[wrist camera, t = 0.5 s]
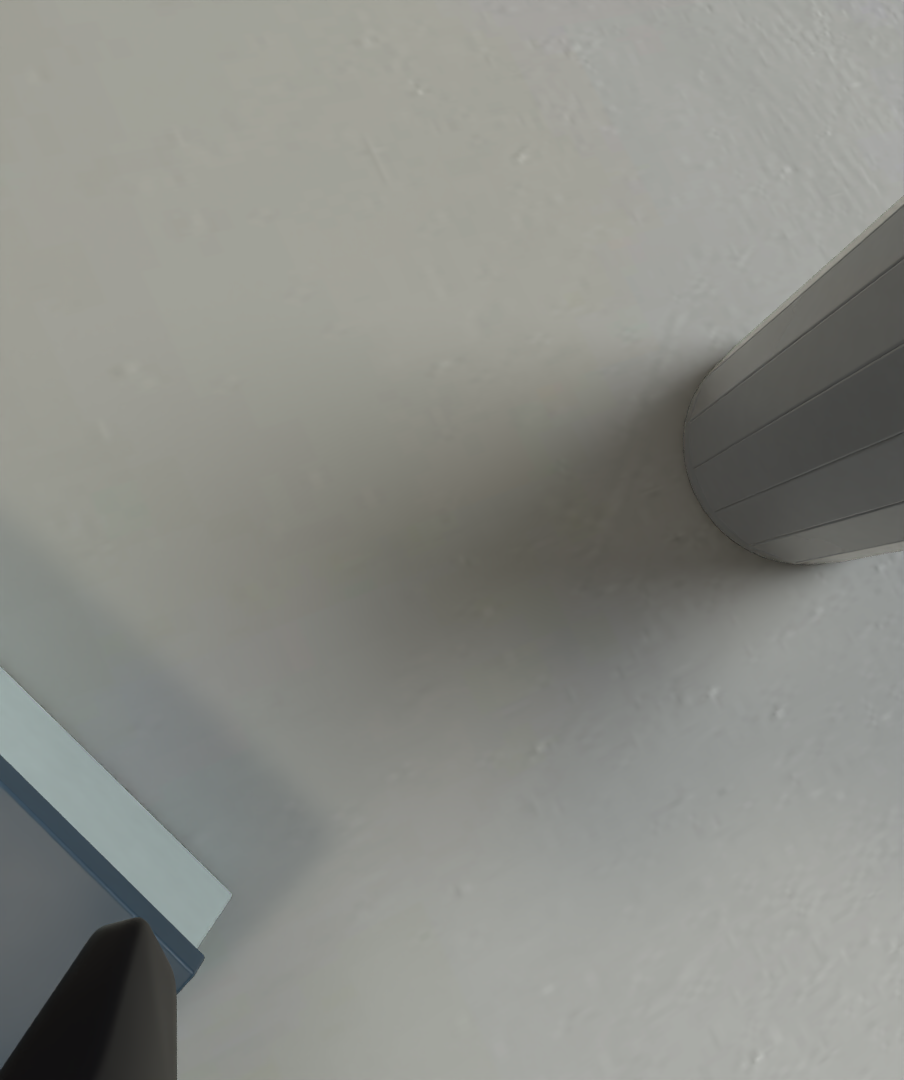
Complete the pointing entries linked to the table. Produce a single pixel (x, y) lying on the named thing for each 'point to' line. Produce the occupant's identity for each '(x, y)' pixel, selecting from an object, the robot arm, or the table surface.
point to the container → (80, 865)
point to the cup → (812, 415)
